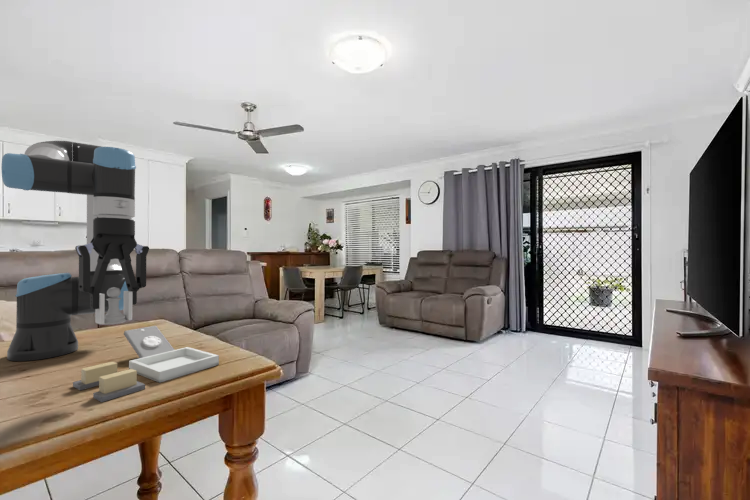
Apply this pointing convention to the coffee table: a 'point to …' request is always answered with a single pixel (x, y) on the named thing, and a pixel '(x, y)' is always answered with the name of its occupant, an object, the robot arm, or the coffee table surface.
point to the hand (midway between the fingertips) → (114, 321)
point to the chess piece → (113, 308)
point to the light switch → (148, 341)
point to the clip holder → (109, 381)
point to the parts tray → (173, 363)
